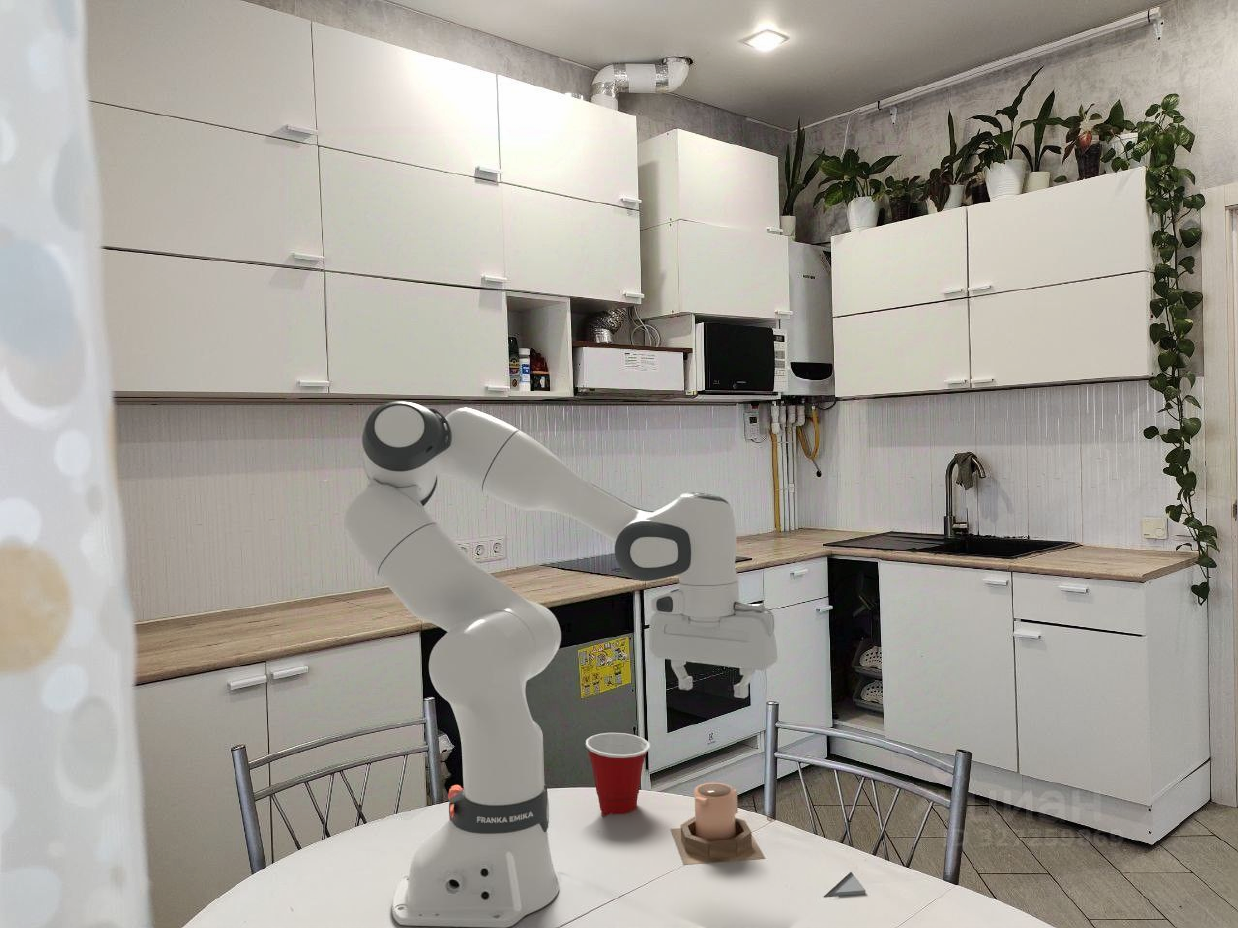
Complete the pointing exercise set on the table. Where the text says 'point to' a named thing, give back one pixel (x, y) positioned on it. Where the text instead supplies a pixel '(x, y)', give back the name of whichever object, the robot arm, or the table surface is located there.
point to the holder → (715, 845)
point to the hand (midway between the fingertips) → (713, 692)
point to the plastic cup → (617, 770)
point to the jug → (715, 811)
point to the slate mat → (847, 887)
